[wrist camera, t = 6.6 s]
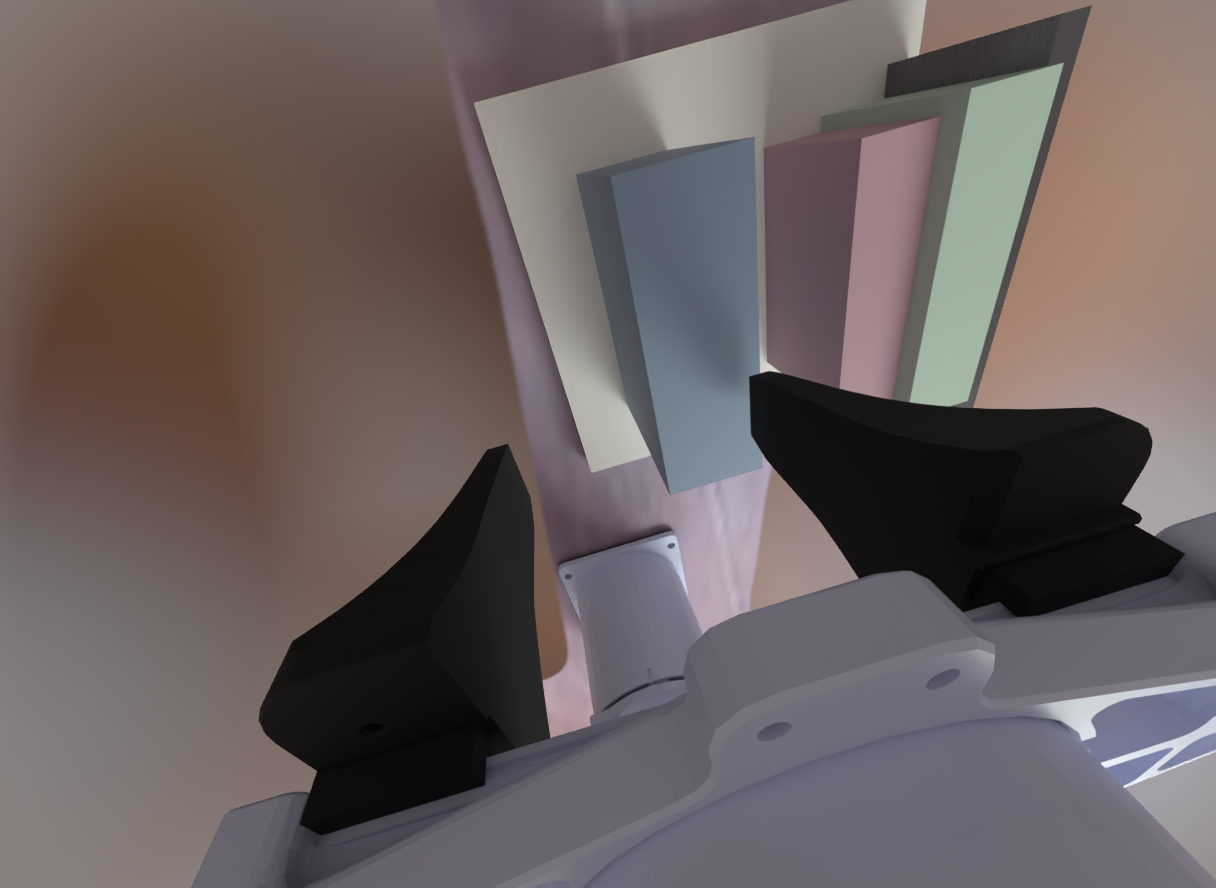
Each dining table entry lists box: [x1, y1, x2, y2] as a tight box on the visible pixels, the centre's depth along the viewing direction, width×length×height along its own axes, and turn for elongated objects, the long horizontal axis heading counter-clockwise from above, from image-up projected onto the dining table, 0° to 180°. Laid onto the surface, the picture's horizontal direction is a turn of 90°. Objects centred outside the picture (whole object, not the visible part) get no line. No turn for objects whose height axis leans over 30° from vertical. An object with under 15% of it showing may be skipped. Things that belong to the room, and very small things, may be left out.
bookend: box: [884, 6, 1091, 408], centre depth 16 cm, size 12×1×6 cm, turn 13°
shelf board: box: [474, 0, 926, 473], centre depth 19 cm, size 16×16×1 cm
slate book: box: [576, 137, 762, 495], centre depth 16 cm, size 10×4×7 cm, turn 13°
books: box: [764, 63, 1064, 406], centre depth 16 cm, size 10×5×6 cm, turn 13°
